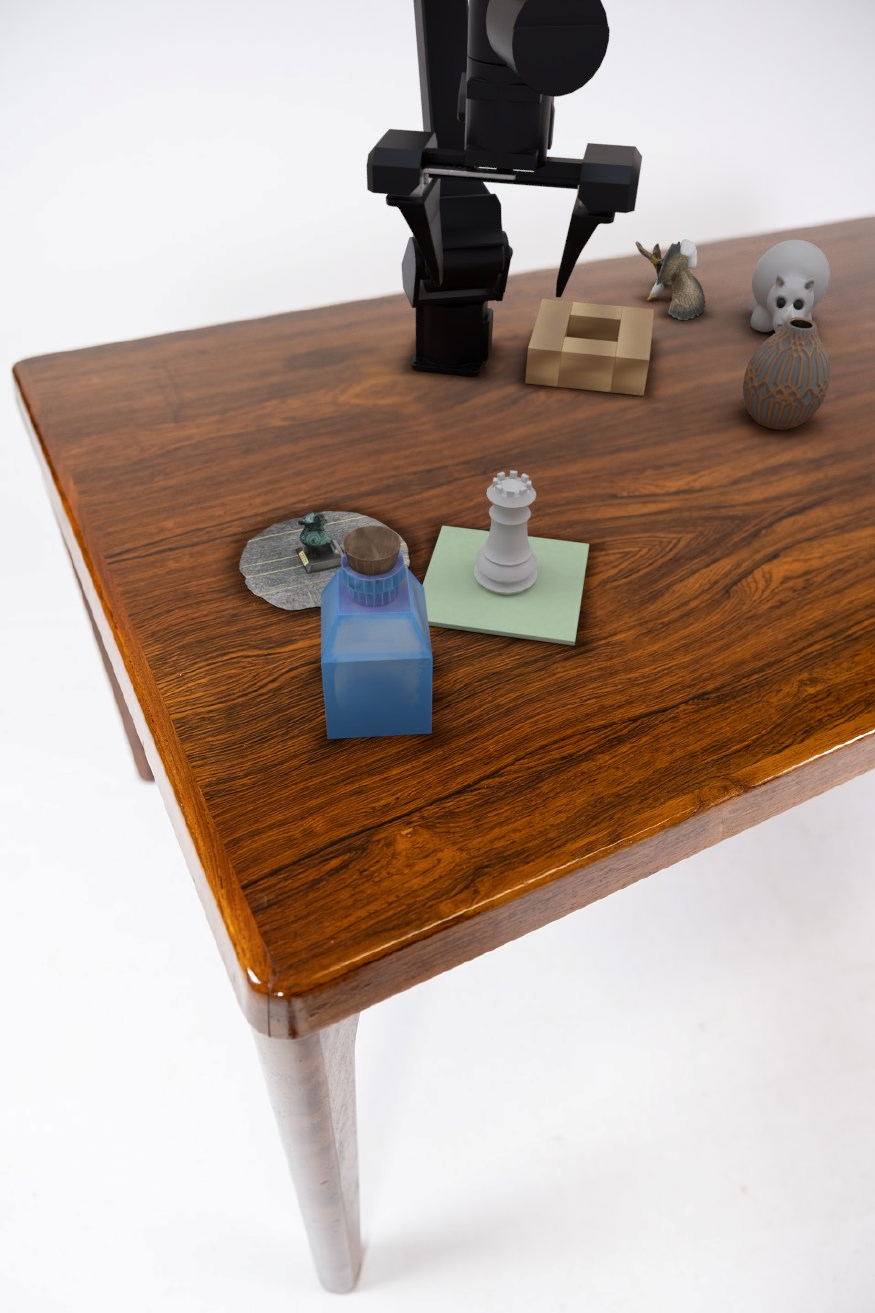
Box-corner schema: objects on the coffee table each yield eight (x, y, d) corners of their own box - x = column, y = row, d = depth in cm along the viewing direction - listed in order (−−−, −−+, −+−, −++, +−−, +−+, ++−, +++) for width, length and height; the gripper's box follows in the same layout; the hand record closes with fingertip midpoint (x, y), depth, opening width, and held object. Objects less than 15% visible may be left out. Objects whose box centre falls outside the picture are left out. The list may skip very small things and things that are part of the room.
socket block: (525, 383, 93) (527, 347, 91) (539, 332, 101) (542, 298, 98) (643, 395, 92) (649, 359, 89) (648, 343, 99) (654, 308, 97)
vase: (819, 443, 86) (849, 345, 80) (736, 433, 87) (759, 336, 81) (813, 403, 91) (841, 309, 85) (735, 395, 92) (757, 301, 86)
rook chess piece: (544, 566, 72) (554, 469, 67) (527, 604, 69) (536, 506, 64) (484, 553, 73) (489, 457, 68) (465, 590, 70) (469, 492, 65)
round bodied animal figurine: (736, 358, 97) (756, 270, 92) (744, 307, 106) (763, 224, 100) (813, 369, 96) (838, 280, 90) (815, 317, 104) (839, 233, 99)
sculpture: (206, 573, 72) (245, 467, 72) (284, 592, 80) (320, 497, 79) (332, 633, 67) (375, 519, 66) (402, 646, 75) (442, 545, 74)
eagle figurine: (612, 276, 109) (640, 294, 101) (653, 214, 106) (684, 228, 98) (666, 312, 112) (696, 333, 104) (706, 253, 109) (740, 270, 101)
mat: (411, 623, 68) (411, 618, 68) (442, 529, 76) (442, 525, 76) (574, 646, 67) (575, 641, 66) (588, 548, 75) (589, 543, 74)
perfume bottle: (327, 667, 65) (314, 511, 57) (423, 663, 65) (424, 507, 57) (327, 738, 60) (313, 580, 52) (431, 733, 61) (433, 575, 53)
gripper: (659, 36, 71) (628, 260, 81) (398, 21, 73) (401, 240, 84) (653, 76, 63) (619, 318, 73) (360, 58, 65) (368, 294, 76)
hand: (498, 289), depth 77 cm, fingers open, 9 cm apart
